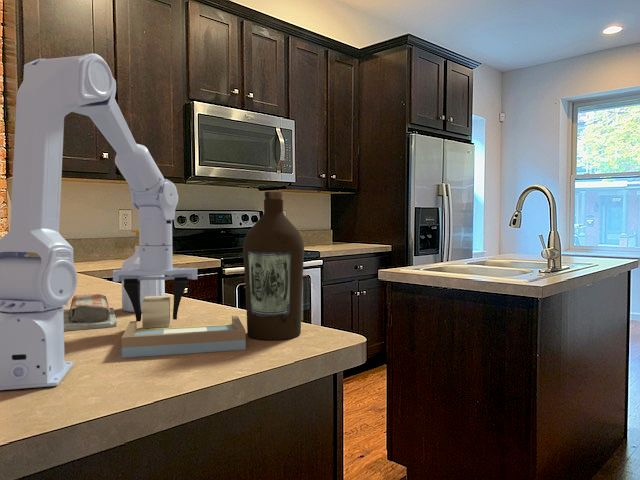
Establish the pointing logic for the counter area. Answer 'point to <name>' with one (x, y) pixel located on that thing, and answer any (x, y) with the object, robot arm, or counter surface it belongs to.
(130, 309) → the soap bottle
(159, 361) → the counter surface
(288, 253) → the olive oil
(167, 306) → the beige block with rod
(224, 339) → the dock
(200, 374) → the counter surface
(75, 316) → the packaged product
